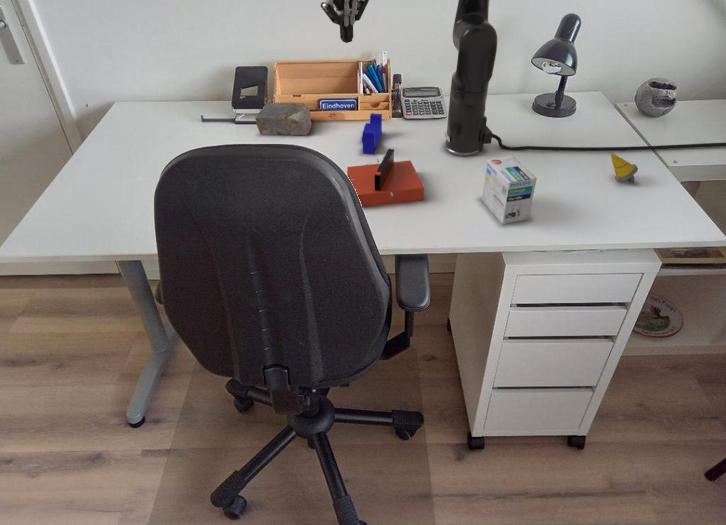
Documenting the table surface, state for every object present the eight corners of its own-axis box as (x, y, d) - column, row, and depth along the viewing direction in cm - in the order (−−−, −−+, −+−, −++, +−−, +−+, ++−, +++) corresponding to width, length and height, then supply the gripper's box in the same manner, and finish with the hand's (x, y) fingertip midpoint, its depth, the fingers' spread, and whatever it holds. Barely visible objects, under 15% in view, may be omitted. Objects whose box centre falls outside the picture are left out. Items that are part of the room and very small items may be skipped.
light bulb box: (529, 220, 121) (538, 178, 114) (501, 225, 119) (509, 183, 112) (506, 195, 129) (513, 154, 122) (480, 199, 127) (486, 159, 120)
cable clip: (366, 132, 155) (365, 112, 151) (381, 134, 154) (381, 114, 150) (357, 152, 146) (356, 132, 142) (373, 154, 145) (373, 133, 141)
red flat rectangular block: (410, 168, 139) (410, 155, 137) (428, 204, 126) (429, 191, 124) (343, 175, 137) (343, 162, 135) (355, 213, 124) (354, 199, 122)
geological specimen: (262, 102, 160) (312, 100, 158) (265, 121, 164) (314, 120, 162) (253, 116, 151) (306, 115, 150) (257, 137, 155) (308, 135, 154)
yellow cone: (629, 192, 130) (605, 160, 128) (620, 189, 135) (596, 158, 133) (648, 177, 129) (624, 145, 127) (638, 175, 134) (614, 143, 132)
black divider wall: (388, 163, 134) (388, 147, 131) (393, 163, 134) (394, 148, 131) (374, 190, 125) (374, 174, 122) (380, 191, 124) (380, 175, 122)
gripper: (330, -34, 111) (334, 52, 122) (378, -44, 117) (378, 39, 128) (308, -40, 115) (314, 44, 126) (356, -49, 122) (358, 31, 133)
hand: (347, 41), depth 127 cm, fingers closed
